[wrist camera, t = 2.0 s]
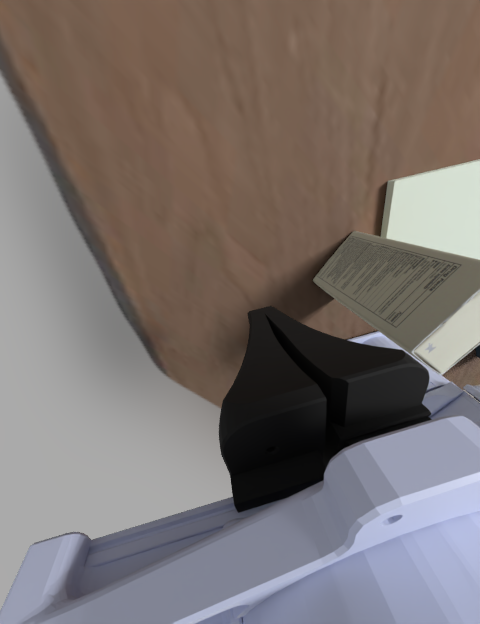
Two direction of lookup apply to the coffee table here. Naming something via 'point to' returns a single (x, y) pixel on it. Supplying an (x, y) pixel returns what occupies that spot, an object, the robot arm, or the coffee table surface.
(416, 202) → the mat
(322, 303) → the coffee table surface
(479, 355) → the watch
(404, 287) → the skincare box
